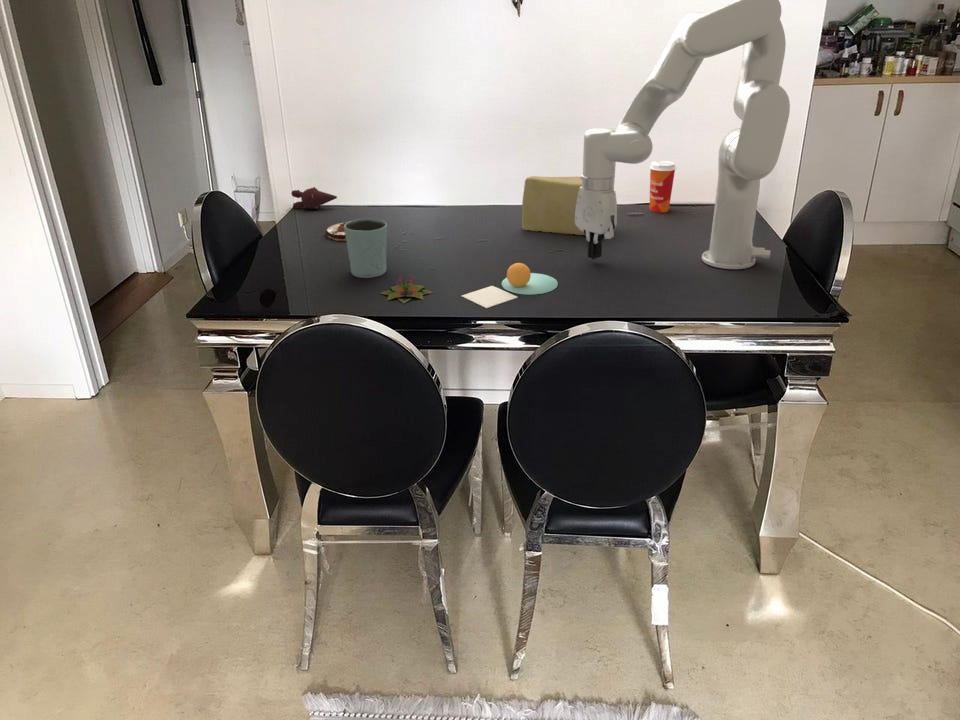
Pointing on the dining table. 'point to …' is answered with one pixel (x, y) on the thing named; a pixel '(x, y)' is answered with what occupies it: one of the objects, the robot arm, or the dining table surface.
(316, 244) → the dining table surface
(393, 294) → the lily flower
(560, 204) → the cheese
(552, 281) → the disc
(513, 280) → the ball
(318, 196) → the icecream
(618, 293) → the dining table surface
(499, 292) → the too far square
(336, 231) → the golden round pastry
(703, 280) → the dining table surface
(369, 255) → the green ceramic cup
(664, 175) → the paper cup
